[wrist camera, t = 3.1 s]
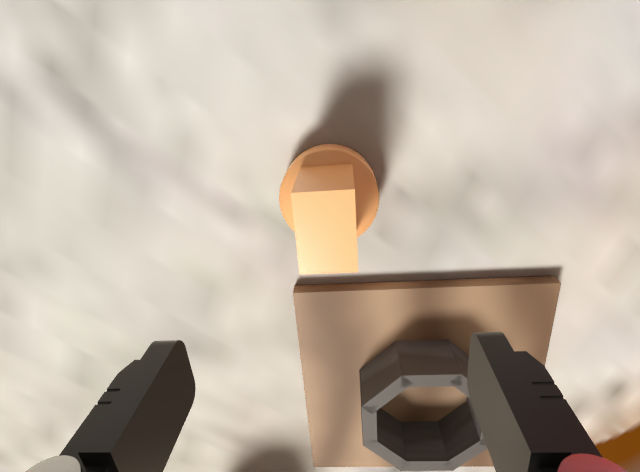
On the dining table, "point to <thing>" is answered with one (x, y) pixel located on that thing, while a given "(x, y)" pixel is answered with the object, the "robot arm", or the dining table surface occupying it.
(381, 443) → the square base with nut
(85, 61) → the dining table surface
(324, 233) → the peach knob
